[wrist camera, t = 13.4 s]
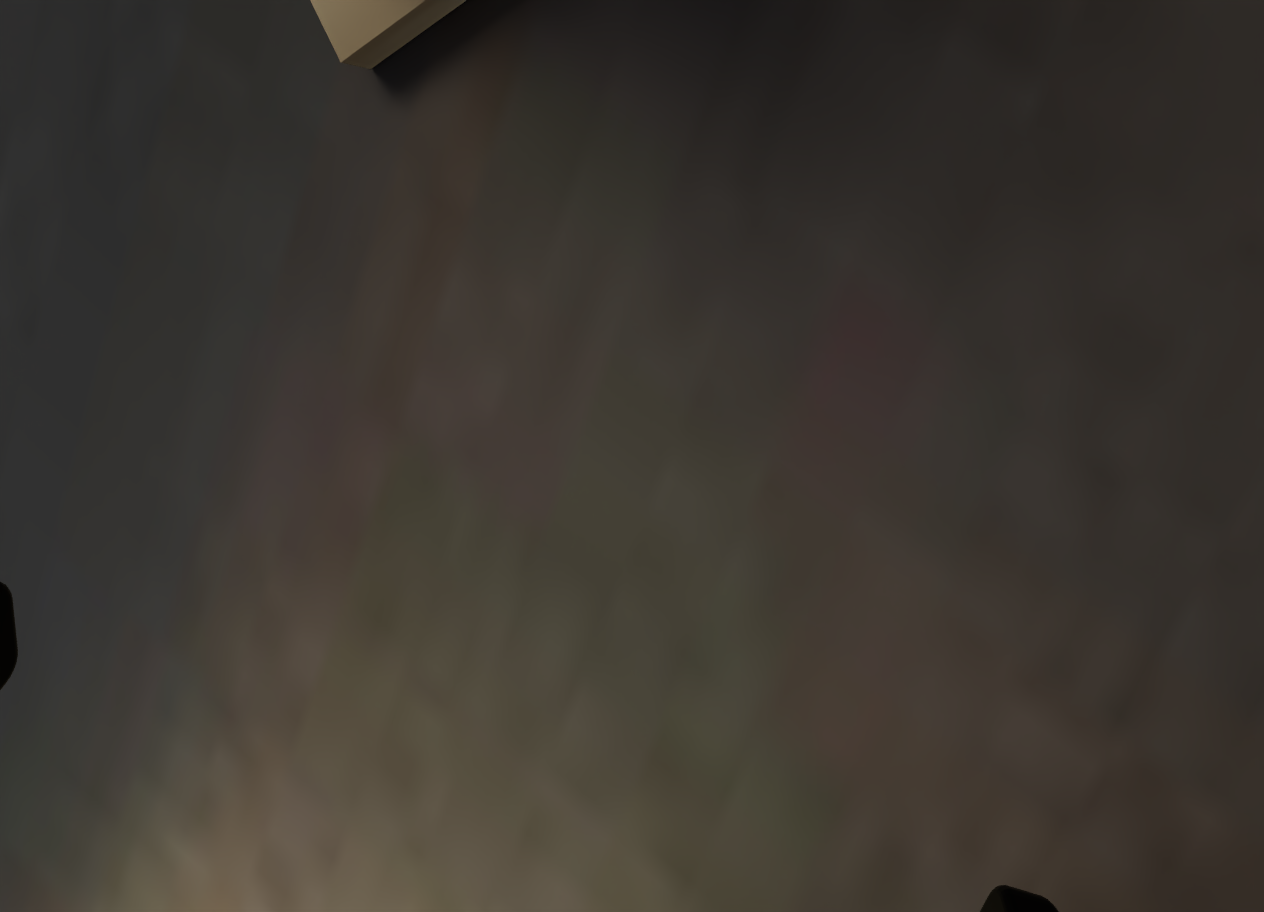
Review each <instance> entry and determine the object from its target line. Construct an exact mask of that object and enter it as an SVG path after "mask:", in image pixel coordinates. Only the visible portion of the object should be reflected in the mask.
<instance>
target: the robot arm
mask: <svg viewBox="0 0 1264 912" xmlns="http://www.w3.org/2000/svg"><path fill="white" fill-rule="evenodd" d="M17 657H18V647H17V638H16V628H15V618H14V608H13V599H12V594H11V592H10V590H9V589H8V587H7V586H6V585H5V584H3V583H2V582H0V690H1V689H2V687H3V686H4V685H5V684H6V682H7V681H8V679H9V678H10V676H11V674H12V672H13V670H14V668H15V665H16V662H17ZM980 912H1058V910H1057V909H1056V908H1055V906H1054V905H1053V904H1052V903H1051V902H1050V901H1049V900H1048V899H1046V898H1044V897H1042V896H1040V895H1037V894H1033V893H1030V892H1027V891H1024V890H1020V889H1017V888H1014V887H1010V886H1007V885H1000V886H997V887H996V888H994V889H993V890H992V891H991V893H990V894H989V896H988V898H987V899H986V901H985V903H984V905H983V907H982V909H981V911H980Z"/></svg>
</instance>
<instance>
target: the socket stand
mask: <svg viewBox="0 0 1264 912" xmlns="http://www.w3.org/2000/svg"><path fill="white" fill-rule="evenodd" d="M465 1H466V0H311V3H312V5H313V7H314V9H315V11H316V13H317V15H318V17H319V19H320V21H321V23H322V25H323V27H324V29H325V31H326V33H327V35H328V37H329V39H330V41H331V43H332V45H333V47H334V49H335V51H336V53H337V55H338V58H339V60H340V62H341V63H346V64H350V65H354V66H359V67H363V68H368V69H372V68H373V67H374V66H376V65H377V64H379V63H380V62H381V61H383V60H384V59H386V58H387V57H388V56H390V55H391V54H393V53H394V52H395V51H397V50H398V49H400V48H401V47H402V46H404V45H405V44H406V43H408V42H409V41H411V40H412V39H413V38H415V37H416V36H418V35H419V34H420V33H422V32H423V31H425V30H426V29H427V28H429V27H430V26H432V25H433V24H434V23H436V22H437V21H438V20H440V19H441V18H443V17H444V16H445V15H447V14H448V13H450V12H451V11H452V10H454V9H455V8H457V7H458V6H459V5H461V4H462V3H463V2H465Z"/></svg>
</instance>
